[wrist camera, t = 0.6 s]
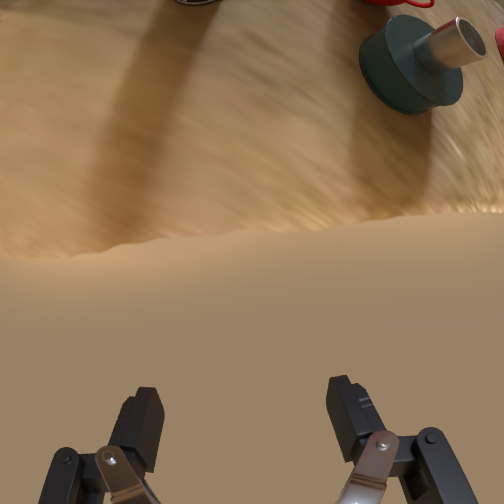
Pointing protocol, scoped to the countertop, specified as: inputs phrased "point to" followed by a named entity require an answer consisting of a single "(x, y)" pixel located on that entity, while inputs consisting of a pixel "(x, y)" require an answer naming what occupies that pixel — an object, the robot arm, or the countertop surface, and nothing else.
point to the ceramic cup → (396, 0)
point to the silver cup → (450, 47)
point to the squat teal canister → (405, 69)
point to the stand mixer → (500, 40)
